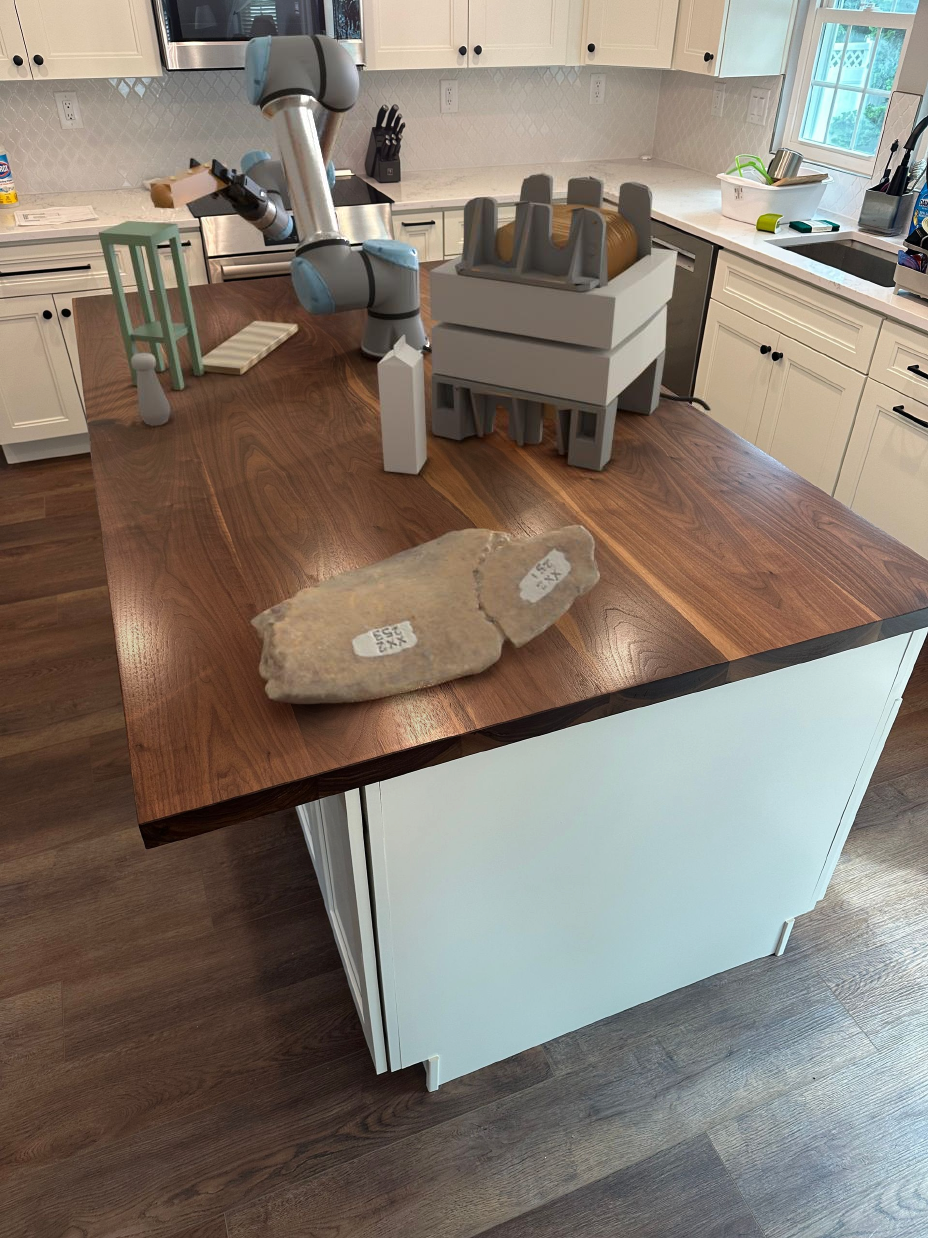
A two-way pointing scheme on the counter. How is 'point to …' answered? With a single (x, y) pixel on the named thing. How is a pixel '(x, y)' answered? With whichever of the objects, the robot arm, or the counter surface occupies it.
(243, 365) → the bread board
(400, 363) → the milk
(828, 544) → the counter surface
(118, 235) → the green shelf
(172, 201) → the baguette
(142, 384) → the salt shaker
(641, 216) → the transformer
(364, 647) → the rock
